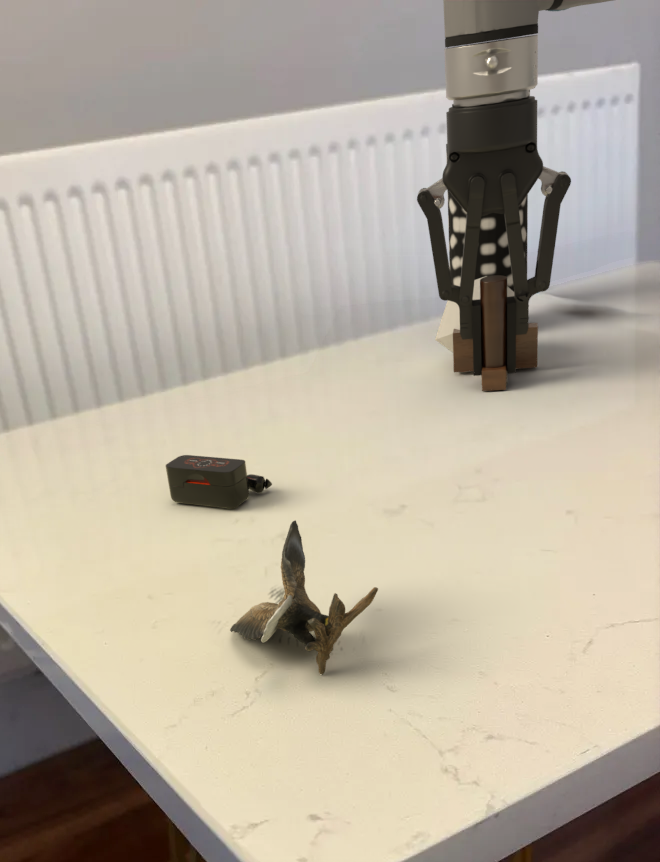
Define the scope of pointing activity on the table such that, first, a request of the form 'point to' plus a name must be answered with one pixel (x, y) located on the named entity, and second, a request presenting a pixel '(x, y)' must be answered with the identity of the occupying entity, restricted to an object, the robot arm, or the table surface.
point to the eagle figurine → (300, 608)
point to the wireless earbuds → (212, 481)
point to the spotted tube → (483, 242)
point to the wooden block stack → (495, 338)
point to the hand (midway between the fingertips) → (494, 369)
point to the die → (456, 318)
